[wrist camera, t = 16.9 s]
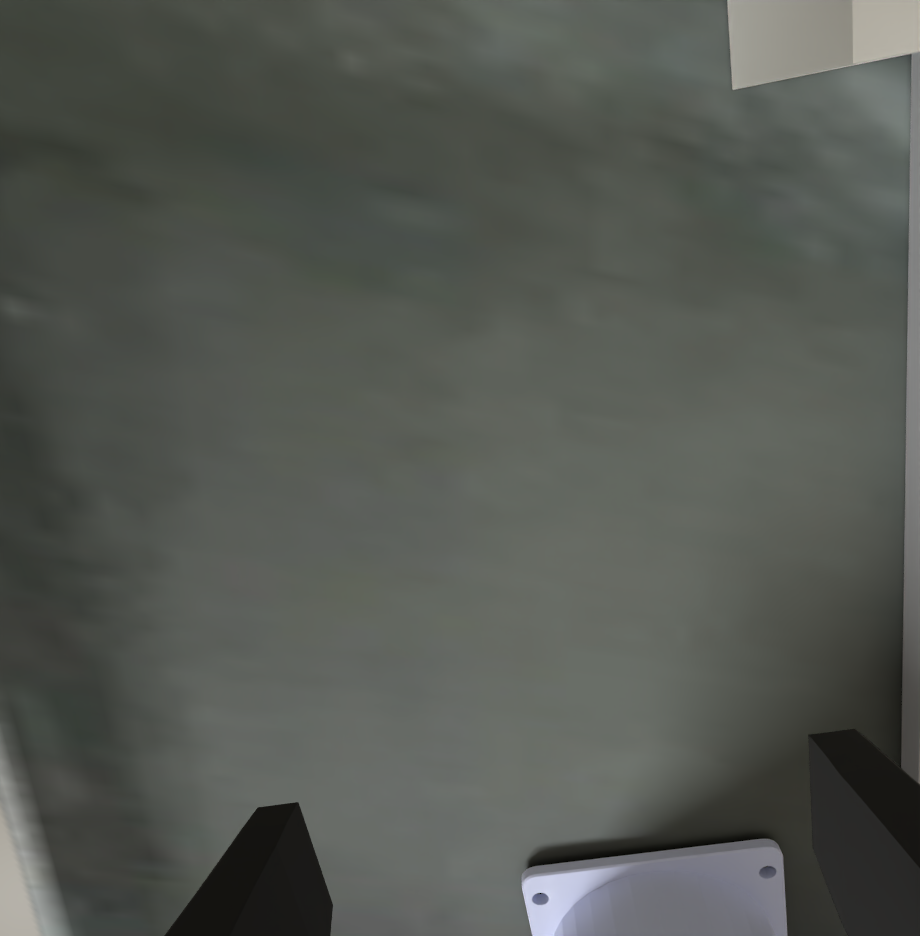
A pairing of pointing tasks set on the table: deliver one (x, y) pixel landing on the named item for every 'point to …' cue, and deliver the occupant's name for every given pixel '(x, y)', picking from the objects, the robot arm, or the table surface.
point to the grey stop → (876, 38)
